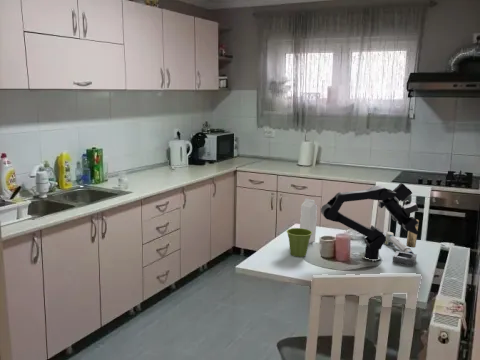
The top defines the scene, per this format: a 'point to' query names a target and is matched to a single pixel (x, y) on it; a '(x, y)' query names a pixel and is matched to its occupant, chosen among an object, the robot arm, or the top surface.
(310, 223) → the milk
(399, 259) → the collar
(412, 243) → the disc
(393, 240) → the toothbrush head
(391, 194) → the robot arm
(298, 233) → the plant pot
